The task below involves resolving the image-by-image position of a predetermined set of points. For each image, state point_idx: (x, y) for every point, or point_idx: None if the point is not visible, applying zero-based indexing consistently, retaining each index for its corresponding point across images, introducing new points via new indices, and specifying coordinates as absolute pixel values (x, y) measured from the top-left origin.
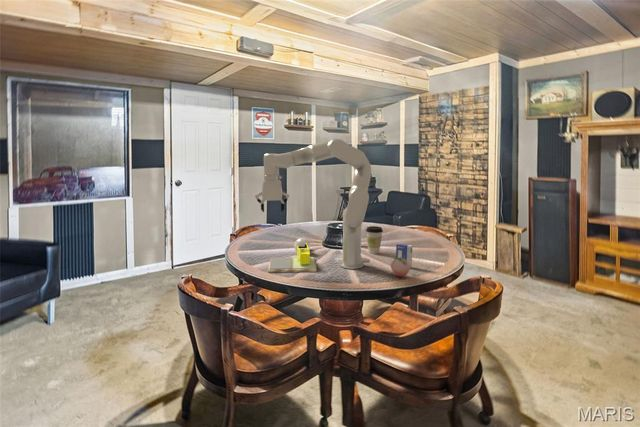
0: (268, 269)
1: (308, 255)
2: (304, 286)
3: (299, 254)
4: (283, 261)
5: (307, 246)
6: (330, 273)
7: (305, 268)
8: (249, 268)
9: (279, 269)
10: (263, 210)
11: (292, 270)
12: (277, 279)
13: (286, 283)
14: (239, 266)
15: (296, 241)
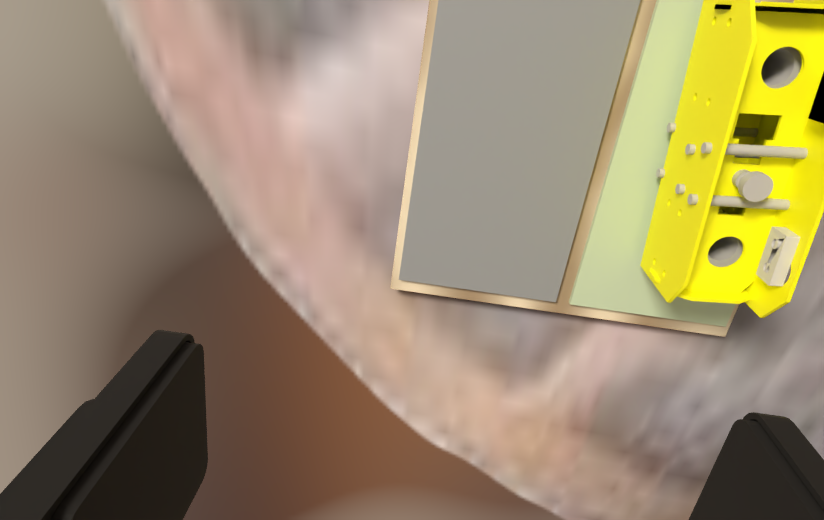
0: (393, 275)
1: (741, 295)
2: (558, 514)
3: (677, 245)
4: (535, 118)
5: (820, 198)
6: (790, 375)
7: (654, 314)
8: (256, 164)
9: (470, 290)
10: (183, 499)
11: (557, 310)
12: (437, 405)
13: (477, 465)
14: (171, 95)
15: None
